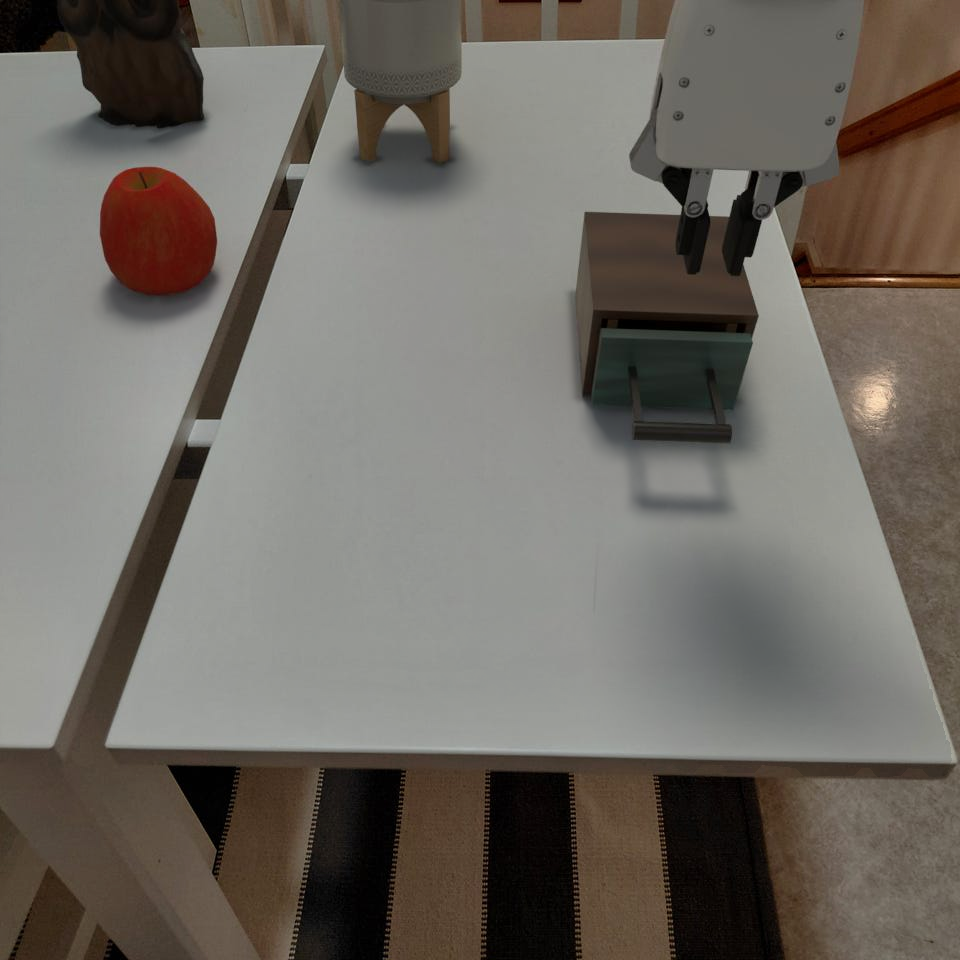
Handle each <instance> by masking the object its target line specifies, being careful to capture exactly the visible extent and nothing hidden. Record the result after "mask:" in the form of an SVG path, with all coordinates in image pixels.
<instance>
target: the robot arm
mask: <svg viewBox="0 0 960 960" xmlns="http://www.w3.org/2000/svg"><path fill="white" fill-rule="evenodd" d="M864 3H865V0H674V2H673V6H672V9H671V13H670V17H669V20H668V25H667V28H666V32H665V36H664V41H663V45H662V49H661V53H660V58H659V63H658V68H657V72H656V77H655V83H654V87H653V91H652V97H651V101H650V102H651V103H650V108H649V109H650V110H649V120H648V121H647V123H646V125H645V126H644V128H643V130H642V132H641V133H640V135H639V136H638V138H637V140H636V142H635V143H634V145H633V147H632V149H631V150H630V151H629V154H628V158H629V164H630V169H631V170H632V171H633V172H634V173H635V174H638V175H640V176H642V177H645V178H647V179H649V180H651V181H653V182H657V183H660V184H662V185H663V187H664V188H665V189H666V190H667V191H668V192H669V193H670V194H671V196H672V198H674V199H675V200H676V202H677V203H678V204H680V206H681V210H680V214H679V215H680V220H679V225H678V231H677V236H676V243H675V248H676V254H677V255H683V257H684V262H685V266H686V271H687V274H689V275H696V274H697V273H699V272H700V268H701V264H702V259H703V255H704V250H705V246H706V241H707V237H708V232H709V228H710V222H711V220H710V216H711V215H710V212H709V203H708V196H709V192H710V187H711V183H712V179H713V174H714V170H715V171H716V170H717V171H746V172H747V171H748V174H747V178H746V182H745V186H744V191H742V192H741V193H740V194H737V195H736V199H733V201H732V204H731V208H730V211H729V216H728V217H729V220H728V225H727V229H726V233H725V237H724V241H723V246H722V254H723V258H724V262H725V265H726V269H727V272H728V274H730V275H731V276H740V274H741V270H742V267H743V265H744V263H745V259H746V258H752V257H753V255H754V253H755V249H756V244H757V241H758V237H759V233H760V231H761V226H762V222H763V220H766V219H768V218H769V217H770V216H771V215H772V214H773V211H774V208H775V207H777V206H778V205H780V204H781V203H783V202H784V201H786V200H787V199H789V198H790V197H791V196H792V195H794V194H796V193H797V192H799V190H801V189H802V188H803V187H806V188H807V187H811V186H813V185H817V184H820V183H823V182H826V181H829V180H832V179H834V178H836V177H837V176H838V175H839V173H840V169H841V168H840V161H839V160H840V159H839V152H838V144H837V140H838V136H839V133H840V130H841V126H842V122H843V119H844V115H845V111H846V106H847V103H848V99H849V94H850V90H851V85H852V81H853V76H854V71H855V66H856V61H857V55H858V48H859V43H860V35H861V28H862V22H863V15H864V5H865V4H864Z"/></svg>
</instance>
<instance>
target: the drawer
mask: <svg viewBox="0 0 960 960" xmlns="http://www.w3.org/2000/svg"><path fill="white" fill-rule="evenodd" d="M737 325H738V324H737V323H716V322H688V321H659V320H631V319H603V318H602V325H601V329H600V336H599V343H598V350H597V357H596V365H595V372H594V379H593V386H592V393H591V396H590V398H591V405H592V406H609V407H631V411H632V418H633V421H632V423H631V435H630V436H631V440H632V441H636V442H638V441H640V442H662V443H663V442H665V443H666V442H669V443H691V444H692V443H693V444H695V443H696V444H720V445H721V444H722V445H730V444H731V443H732V440H733V426H732V424H730V423H729V424H727V421H726V417H725V411H734V409H735V406H736V402H737V399H738V396H739V392H740V389H741V386H742V382H743V378H744V375H745V372H746V368H747V365H748V361H749V358H750V355H751V351H752V347H753V344H754V341H753V337H752V338H751V334H750V333H735V332H736V329H737ZM643 408H662V409H663V408H664V409H665V408H666V409H667V408H668V409H690V410H691V409H694V410H712V414H713V418H714V422H715V423H703V422H702V423H701V422H699V423H697V422H675V421H674V422H671V421H648V420H647V421H645V420H644V414H643Z"/></svg>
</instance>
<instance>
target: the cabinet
mask: <svg viewBox="0 0 960 960" xmlns="http://www.w3.org/2000/svg"><path fill="white" fill-rule="evenodd" d="M680 215H681V214H668V213H667V214H665V213H664V214H663V213H637V212H635V213H634V212H609V211H607V212H606V211H605V212H603V211H584V214H583V223H582V224H583V225H582V231H581V232H582V233H581V241H580V251H579V260H578V266H577V267H578V268H577V277H576V285H575V286H576V287H575V307H576V309H575V310H576V322H577V323H576V324H577V338H578V353H579V368H580V369H579V370H580V383H581V384H580V385H581V395H582V396H586V397H587V396H590V397H591V393H592V386H593V379H594V372H595V365H596V357H597V350H598V343H599V336H600V329H601V325H602V318H603V319H631V320H659V321H688V322H716V323H737V324H738V325H737V329H736V332H735V333H750V334H751V338H752V339H753V338H754V337H753V336H754V333H755V329H756V327H757V323H758V320H759V317H760V315H759V312H758V308H757V306H756V301H755V298H754V296H753V295H754V294H753V292H752V288H751V286H750V285H751V284H750V282H749V279H748V276H747V272H746V269H745V265H744V264H743V267H742V270H741V274H740V276H731V275H730V274H728V272H727V269H726V265H725V262H724V258H723V254H722V246H723V241H724V237H725V233H726V229H727V225H728V220H729V216H726V215H725V216H724V215H723V216H722V215H718V216H717V215H709V216H710V220H711V222H710V228H709V232H708V237H707V241H706V246H705V250H704V255H703V259H702V264H701V268H700V272H699V273H697V274H696V275H689V274H687V271H686V266H685V262H684V257H683V255H677V254H676V248H675V243H676V236H677V231H678V225H679V220H680Z"/></svg>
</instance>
